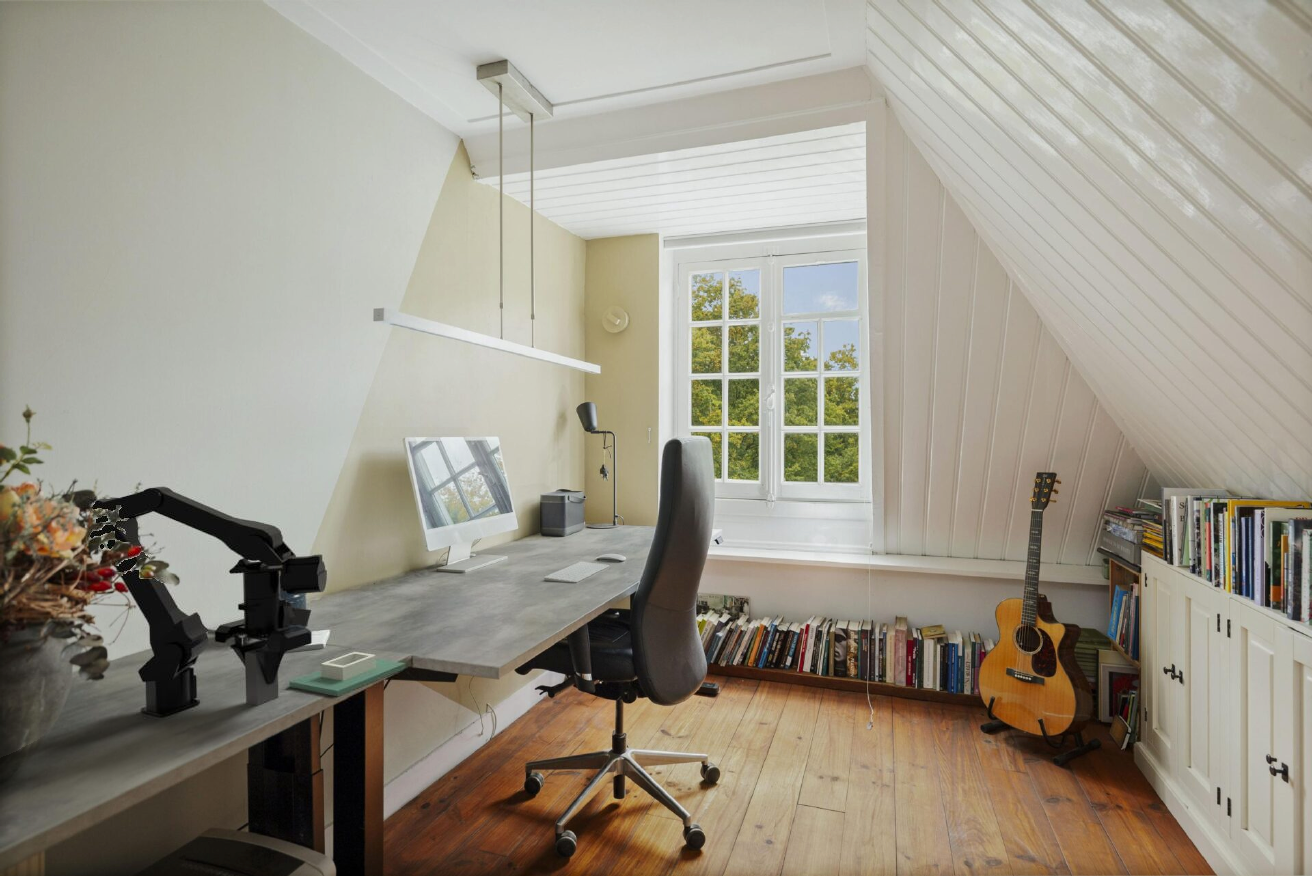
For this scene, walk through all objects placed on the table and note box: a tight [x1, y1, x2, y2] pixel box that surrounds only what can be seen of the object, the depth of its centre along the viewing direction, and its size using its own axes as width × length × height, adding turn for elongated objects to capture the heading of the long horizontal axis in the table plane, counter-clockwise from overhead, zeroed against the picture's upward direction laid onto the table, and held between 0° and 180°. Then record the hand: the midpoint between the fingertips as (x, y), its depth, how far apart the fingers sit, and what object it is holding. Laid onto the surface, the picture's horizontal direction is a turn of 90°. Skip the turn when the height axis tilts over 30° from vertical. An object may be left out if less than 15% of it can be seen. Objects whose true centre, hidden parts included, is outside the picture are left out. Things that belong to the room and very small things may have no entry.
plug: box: [244, 647, 280, 706], centre depth 121 cm, size 5×3×9 cm, turn 155°
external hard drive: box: [285, 629, 331, 654], centre depth 156 cm, size 2×8×12 cm
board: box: [289, 651, 406, 697], centre depth 132 cm, size 16×13×4 cm
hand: (264, 682), depth 121 cm, fingers open, 3 cm apart
